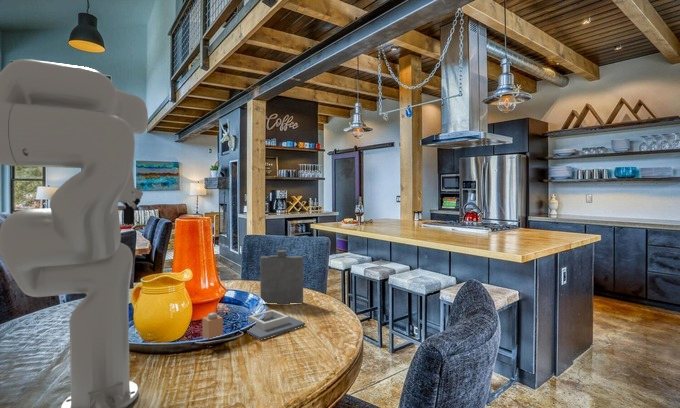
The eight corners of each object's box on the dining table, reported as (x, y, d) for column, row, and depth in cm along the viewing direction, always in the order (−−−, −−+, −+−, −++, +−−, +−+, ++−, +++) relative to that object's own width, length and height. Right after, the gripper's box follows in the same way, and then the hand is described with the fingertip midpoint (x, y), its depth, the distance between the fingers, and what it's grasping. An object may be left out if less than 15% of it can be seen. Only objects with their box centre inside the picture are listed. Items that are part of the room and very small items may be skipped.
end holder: (305, 326, 110) (305, 316, 110) (260, 340, 99) (260, 330, 99) (275, 313, 121) (275, 304, 121) (232, 325, 110) (232, 316, 110)
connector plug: (223, 342, 98) (222, 314, 97) (208, 347, 95) (208, 317, 95) (216, 338, 100) (216, 310, 100) (202, 342, 98) (202, 313, 97)
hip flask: (303, 301, 135) (303, 249, 135) (302, 305, 131) (302, 251, 131) (261, 302, 134) (261, 249, 134) (259, 305, 130) (259, 251, 130)
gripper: (81, 152, 78) (82, 229, 79) (150, 159, 94) (151, 223, 95) (60, 153, 81) (62, 228, 82) (131, 160, 97) (132, 222, 98)
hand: (110, 225), depth 88 cm, fingers open, 9 cm apart
